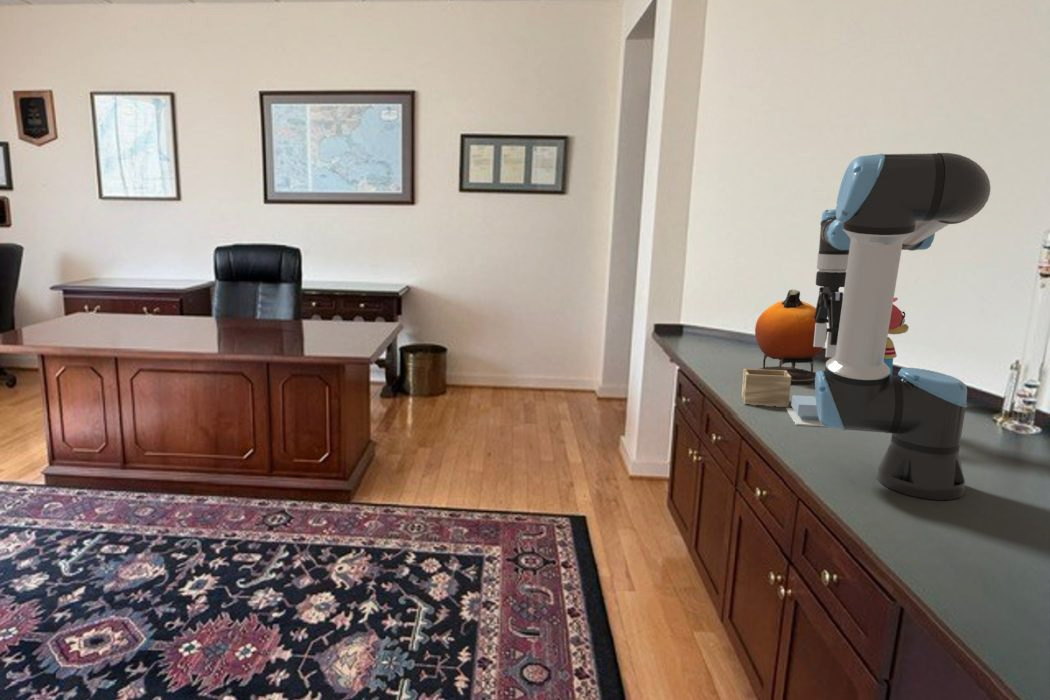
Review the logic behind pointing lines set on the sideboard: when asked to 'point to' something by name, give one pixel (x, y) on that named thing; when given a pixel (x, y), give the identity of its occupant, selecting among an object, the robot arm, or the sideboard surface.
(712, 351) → the sideboard surface
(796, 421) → the pad
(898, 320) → the toy
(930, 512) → the sideboard surface
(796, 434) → the sideboard surface
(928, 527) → the sideboard surface
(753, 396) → the box
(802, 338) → the pumpkin
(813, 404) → the lid
